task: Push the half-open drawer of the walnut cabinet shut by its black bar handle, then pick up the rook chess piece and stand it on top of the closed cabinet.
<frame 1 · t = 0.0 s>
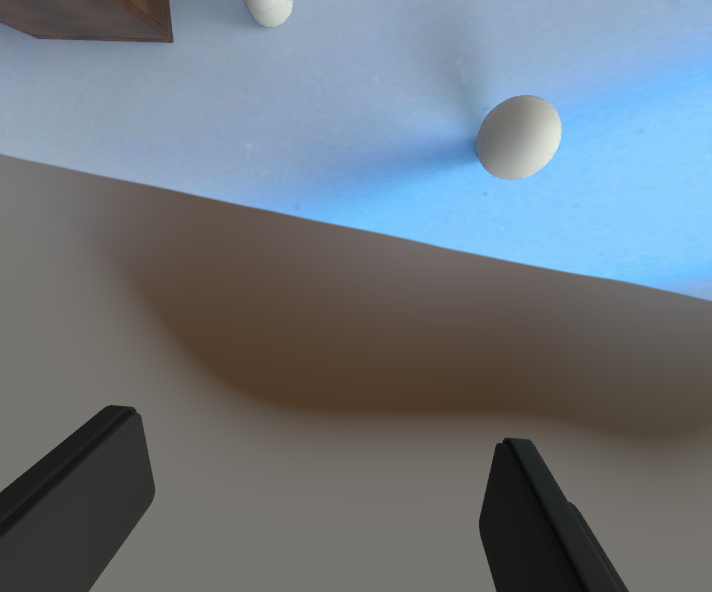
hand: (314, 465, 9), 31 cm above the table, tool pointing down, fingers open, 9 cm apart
rook chess piece: (271, 2, 32), on the table
lightbulb: (485, 149, 34), on the table
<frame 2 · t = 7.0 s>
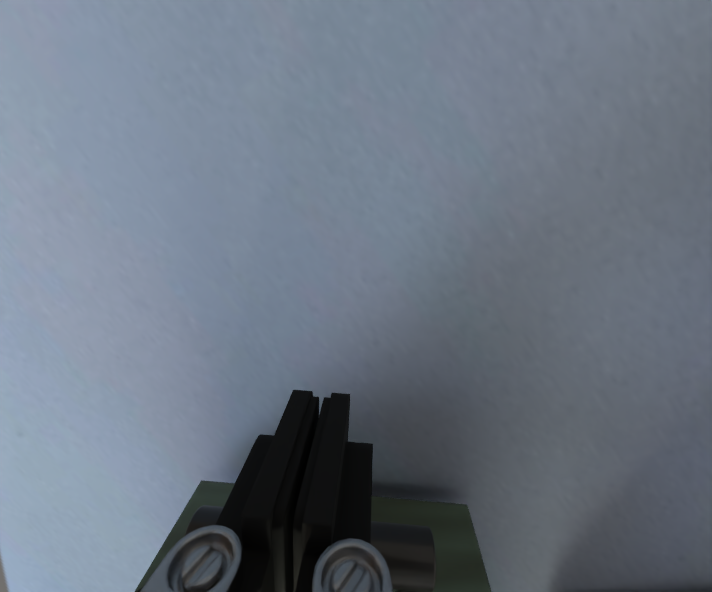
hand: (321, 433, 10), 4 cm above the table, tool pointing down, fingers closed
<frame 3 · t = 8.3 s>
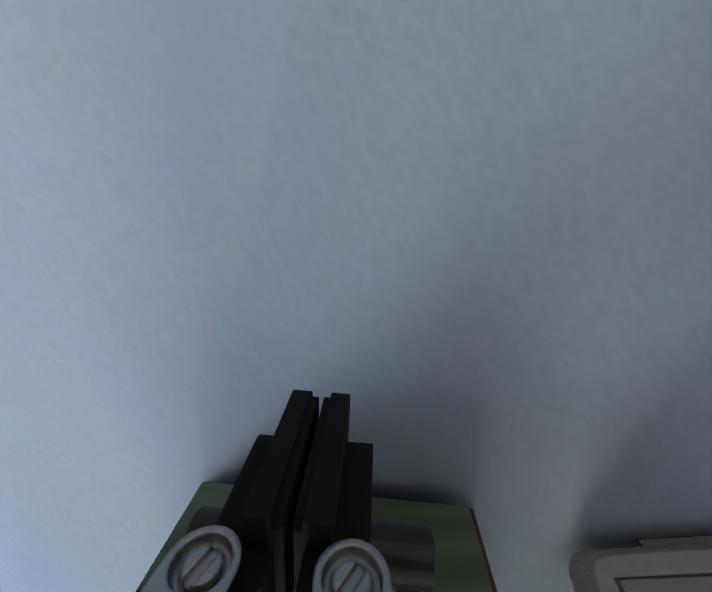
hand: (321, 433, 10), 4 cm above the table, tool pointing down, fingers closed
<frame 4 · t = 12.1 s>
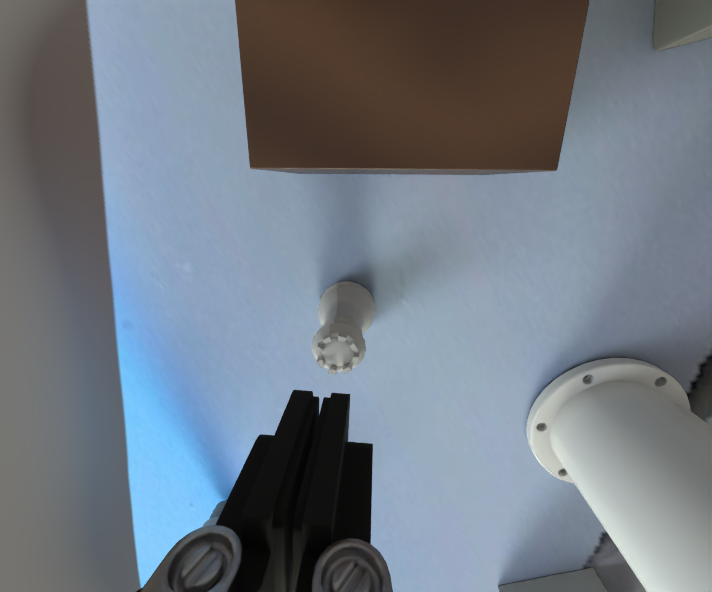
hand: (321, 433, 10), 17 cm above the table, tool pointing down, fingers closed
cabinet: (394, 55, 21), on the table
rook chess piece: (347, 305, 27), on the table
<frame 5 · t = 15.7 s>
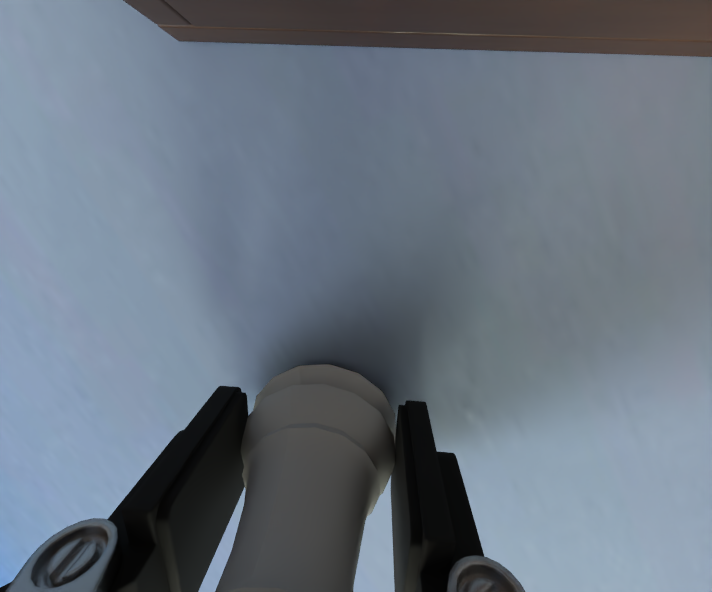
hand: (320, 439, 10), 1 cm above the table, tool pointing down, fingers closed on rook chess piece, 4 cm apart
rook chess piece: (326, 413, 11), on the table, touching gripper
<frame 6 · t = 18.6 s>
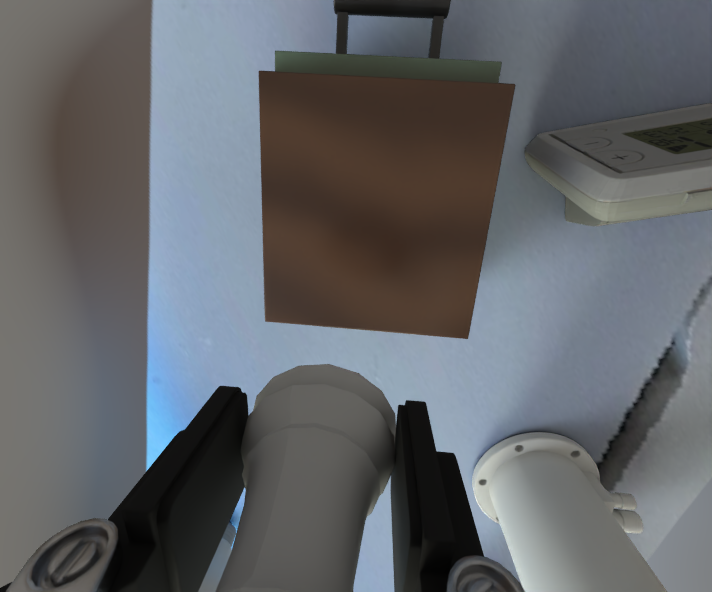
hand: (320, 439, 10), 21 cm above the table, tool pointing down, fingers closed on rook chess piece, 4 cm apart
cabinet: (375, 208, 28), on the table
drawer: (379, 152, 22), point 5 cm above the table, slide at 0.0 cm
rook chess piece: (326, 413, 11), point 20 cm above the table, touching gripper
digital clock: (624, 158, 26), on the table
lightbulb: (229, 522, 41), on the table
when the fingers open (11 cm above the table, at t = 21.8 s): rook chess piece stays where it is, resting on cabinet.
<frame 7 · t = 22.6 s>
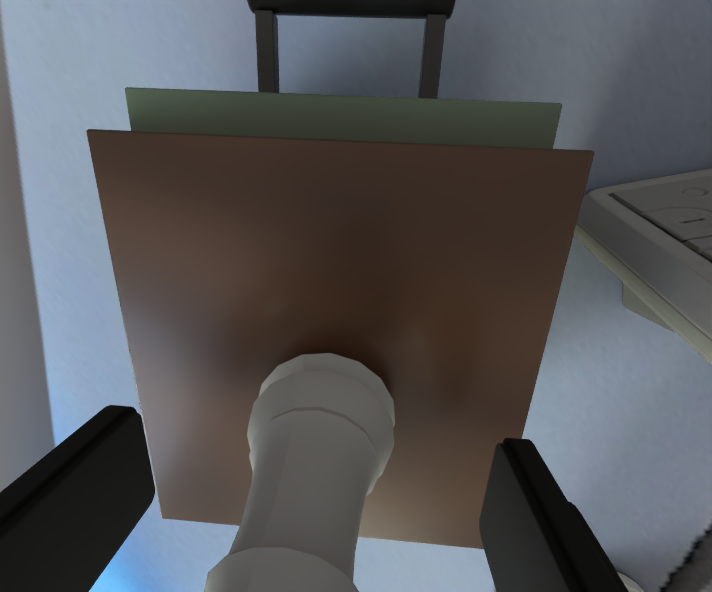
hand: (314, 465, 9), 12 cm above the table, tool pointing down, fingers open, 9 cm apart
cabinet: (350, 289, 20), on the table
drawer: (344, 235, 14), point 5 cm above the table, slide at 0.0 cm
rook chess piece: (328, 401, 11), point 9 cm above the table, touching cabinet
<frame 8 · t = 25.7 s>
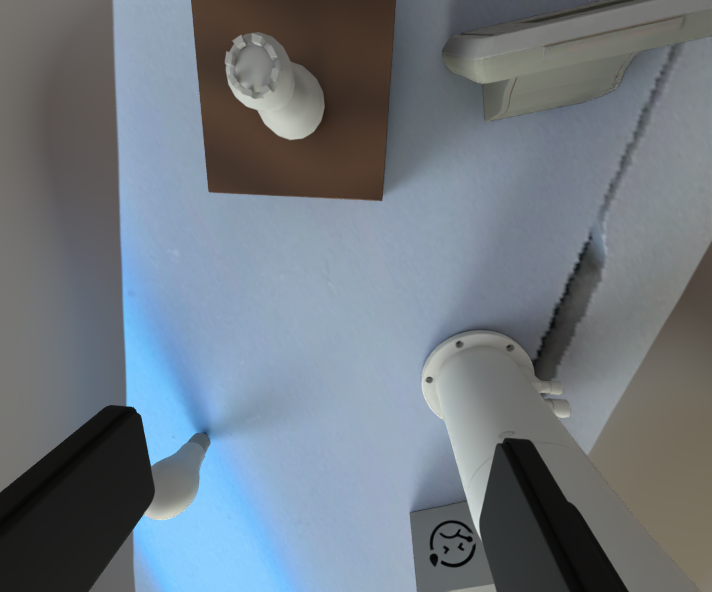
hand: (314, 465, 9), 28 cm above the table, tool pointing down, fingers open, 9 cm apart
cabinet: (317, 115, 32), on the table
rook chess piece: (294, 105, 23), point 9 cm above the table, touching cabinet
icon cube: (453, 529, 48), on the table
digital clock: (532, 61, 29), on the table
lightbulb: (204, 435, 45), on the table
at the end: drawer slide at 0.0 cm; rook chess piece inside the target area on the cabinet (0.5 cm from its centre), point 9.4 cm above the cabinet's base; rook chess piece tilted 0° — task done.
